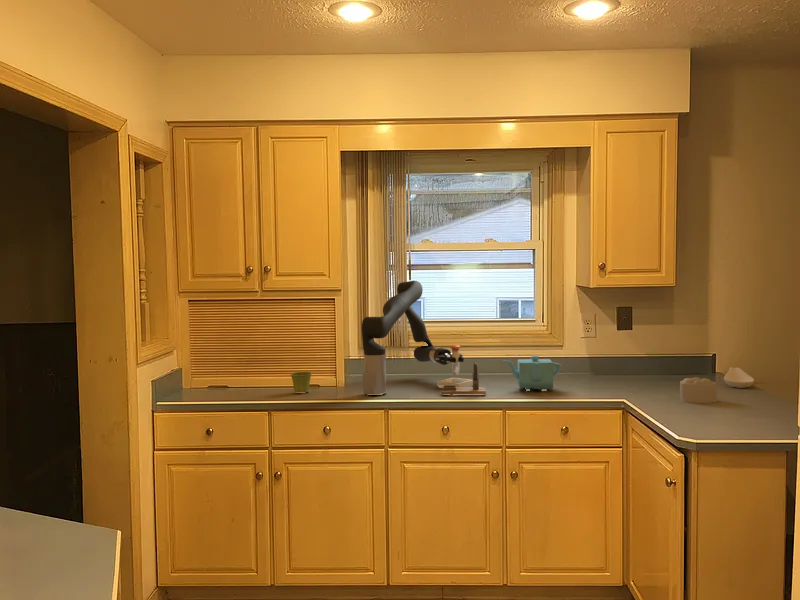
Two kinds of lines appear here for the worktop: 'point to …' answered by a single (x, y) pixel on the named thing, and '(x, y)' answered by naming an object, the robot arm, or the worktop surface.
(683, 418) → the worktop surface
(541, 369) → the teakettle
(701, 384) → the beige bumpy block
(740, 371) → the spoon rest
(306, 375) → the plant pot
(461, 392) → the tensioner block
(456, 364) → the capped test tube
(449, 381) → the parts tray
